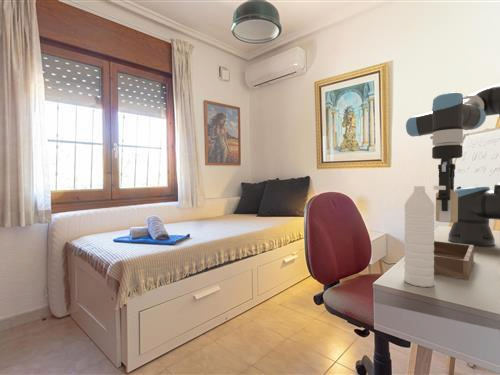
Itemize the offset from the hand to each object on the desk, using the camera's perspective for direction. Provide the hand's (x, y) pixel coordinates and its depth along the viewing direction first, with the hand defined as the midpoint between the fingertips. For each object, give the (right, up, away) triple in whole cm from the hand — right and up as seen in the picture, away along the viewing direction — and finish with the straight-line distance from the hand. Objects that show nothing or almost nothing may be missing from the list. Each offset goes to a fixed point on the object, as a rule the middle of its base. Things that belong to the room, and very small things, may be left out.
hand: (446, 220), depth 83 cm
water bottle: (-16, -15, -14) cm, 26 cm away
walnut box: (0, -14, 0) cm, 14 cm away
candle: (0, 0, 0) cm, 0 cm away
